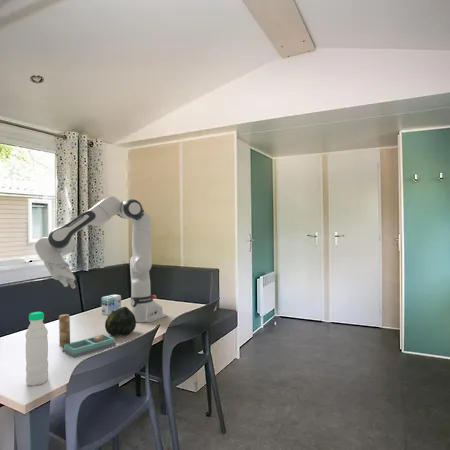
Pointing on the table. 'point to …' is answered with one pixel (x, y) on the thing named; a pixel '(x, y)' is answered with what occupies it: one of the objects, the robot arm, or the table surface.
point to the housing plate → (88, 345)
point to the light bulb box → (111, 304)
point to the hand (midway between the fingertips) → (70, 286)
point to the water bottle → (36, 350)
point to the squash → (120, 322)
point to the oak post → (64, 329)
